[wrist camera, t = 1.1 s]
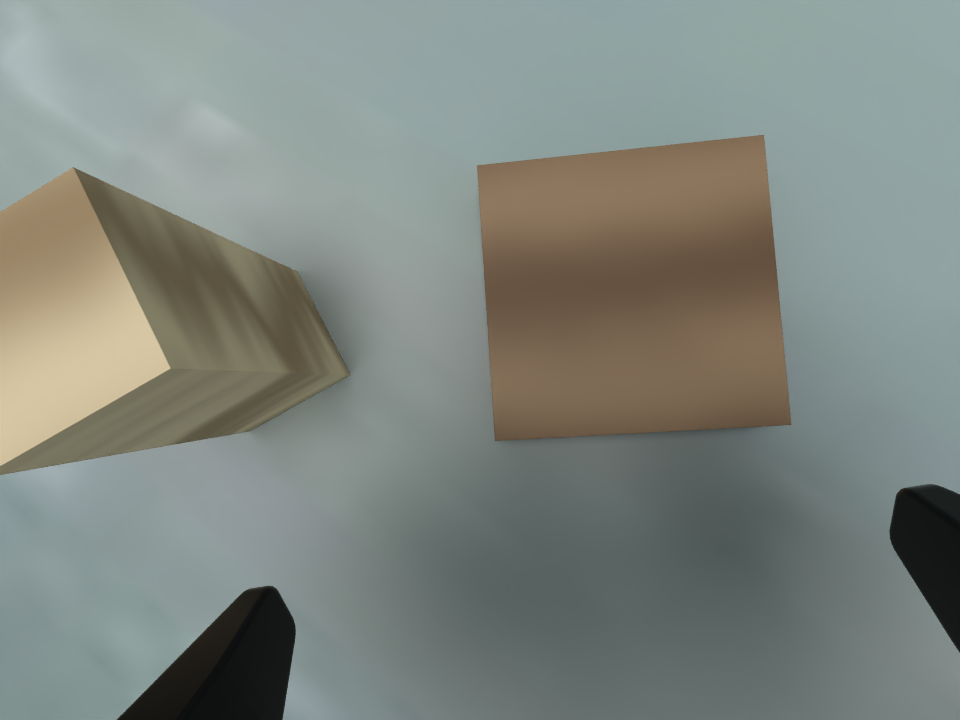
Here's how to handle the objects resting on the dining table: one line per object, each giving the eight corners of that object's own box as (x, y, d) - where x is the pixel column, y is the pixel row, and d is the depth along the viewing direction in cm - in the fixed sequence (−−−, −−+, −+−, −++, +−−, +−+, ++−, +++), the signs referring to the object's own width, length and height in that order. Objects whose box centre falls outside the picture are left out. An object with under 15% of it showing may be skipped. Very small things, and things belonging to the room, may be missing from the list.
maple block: (350, 374, 22) (170, 368, 11) (248, 431, 22) (-23, 478, 11) (297, 271, 22) (73, 167, 12) (198, 328, 23) (-110, 279, 12)
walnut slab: (754, 418, 21) (791, 425, 18) (500, 432, 22) (495, 440, 19) (731, 169, 21) (764, 134, 18) (484, 194, 22) (476, 165, 19)
